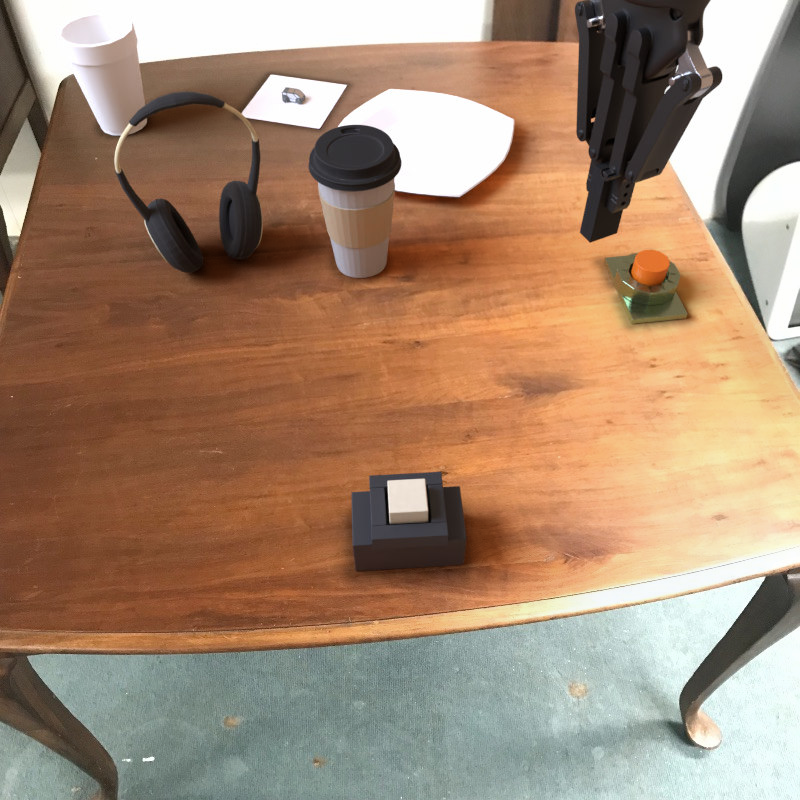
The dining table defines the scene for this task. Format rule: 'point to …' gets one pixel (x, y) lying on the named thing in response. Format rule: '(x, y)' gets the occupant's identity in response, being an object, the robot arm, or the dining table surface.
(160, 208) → the headphones
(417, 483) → the key
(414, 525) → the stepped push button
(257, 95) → the white square card
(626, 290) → the switch block
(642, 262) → the round orange push button
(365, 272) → the coffee cup
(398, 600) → the dining table surface
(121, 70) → the foam cup
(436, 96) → the plate
